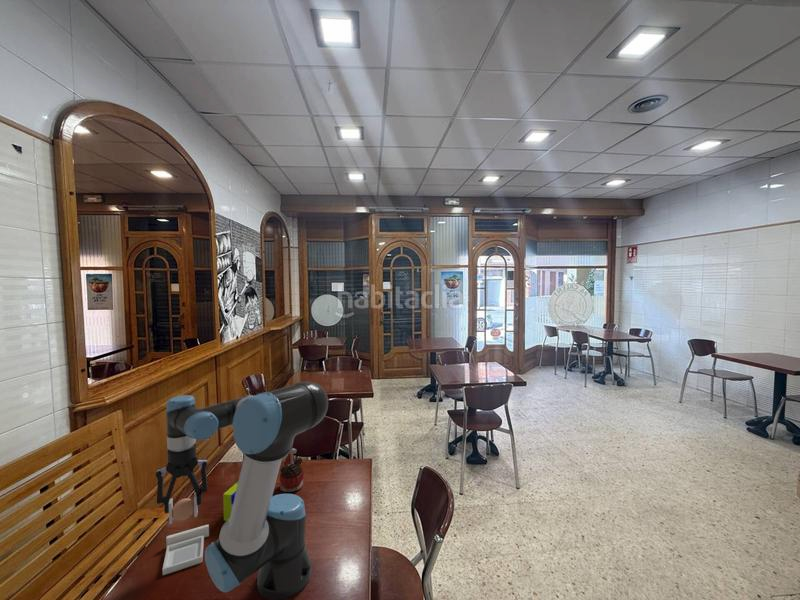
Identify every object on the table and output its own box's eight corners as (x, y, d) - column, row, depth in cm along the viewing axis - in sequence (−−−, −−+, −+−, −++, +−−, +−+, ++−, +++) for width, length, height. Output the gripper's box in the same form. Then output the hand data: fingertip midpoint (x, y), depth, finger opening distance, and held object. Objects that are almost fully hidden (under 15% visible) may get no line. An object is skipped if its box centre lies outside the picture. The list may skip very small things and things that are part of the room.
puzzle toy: (248, 524, 121) (247, 497, 121) (223, 520, 123) (223, 494, 122) (264, 506, 131) (264, 481, 130) (241, 503, 133) (241, 478, 132)
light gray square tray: (202, 562, 104) (202, 556, 104) (162, 575, 100) (162, 569, 99) (203, 540, 113) (203, 535, 113) (167, 551, 109) (167, 546, 108)
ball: (194, 521, 105) (193, 502, 105) (170, 527, 102) (170, 508, 102) (195, 509, 110) (195, 492, 110) (173, 515, 107) (173, 497, 107)
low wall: (208, 536, 115) (208, 526, 115) (166, 549, 109) (166, 538, 109) (208, 533, 116) (208, 524, 116) (167, 546, 111) (166, 536, 110)
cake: (289, 496, 137) (289, 453, 136) (274, 489, 141) (273, 448, 141) (309, 483, 146) (308, 443, 145) (293, 477, 151) (293, 438, 150)
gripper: (216, 435, 113) (217, 502, 114) (146, 447, 104) (149, 520, 105) (216, 444, 106) (217, 515, 107) (141, 458, 97) (144, 536, 98)
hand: (183, 517), depth 106 cm, fingers closed on ball, 6 cm apart
